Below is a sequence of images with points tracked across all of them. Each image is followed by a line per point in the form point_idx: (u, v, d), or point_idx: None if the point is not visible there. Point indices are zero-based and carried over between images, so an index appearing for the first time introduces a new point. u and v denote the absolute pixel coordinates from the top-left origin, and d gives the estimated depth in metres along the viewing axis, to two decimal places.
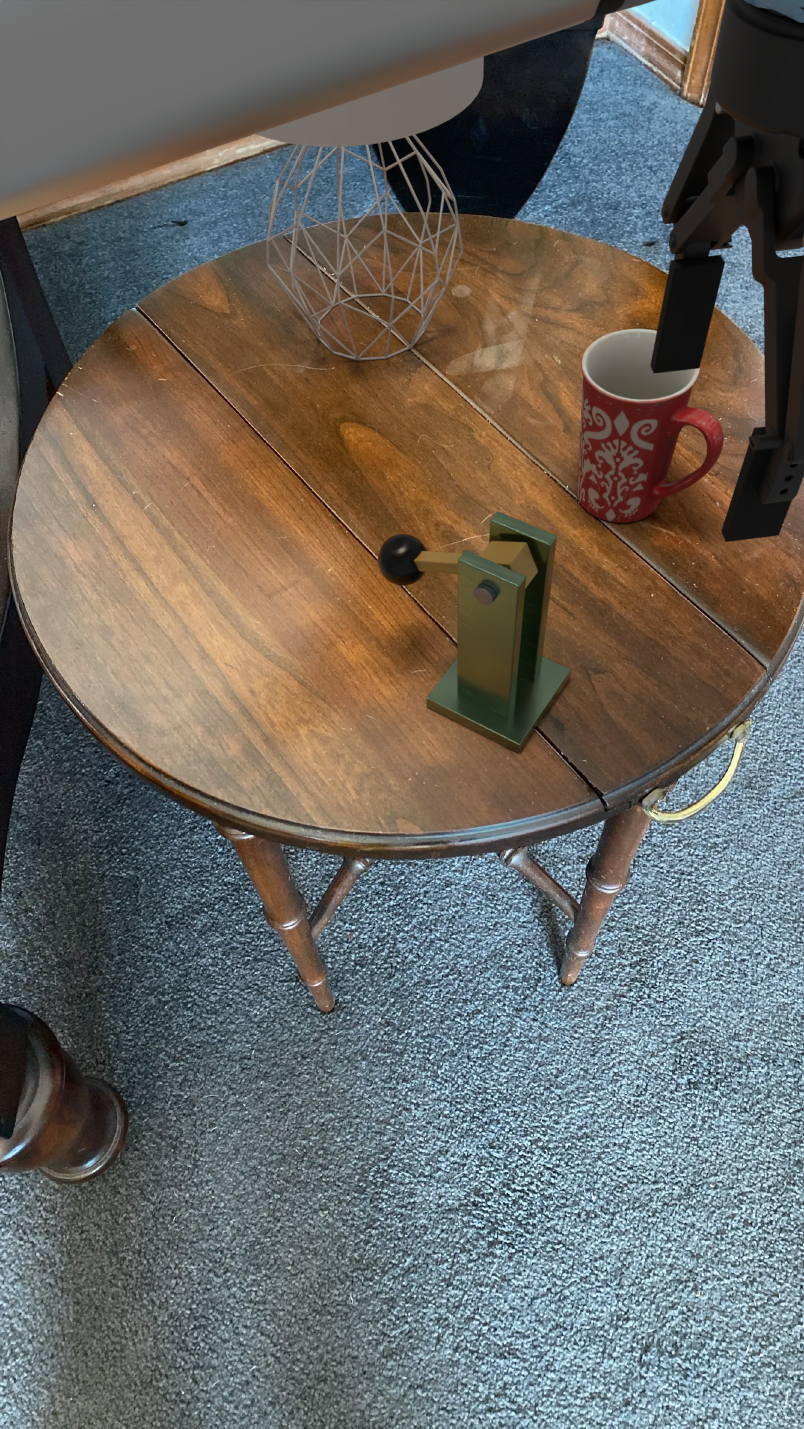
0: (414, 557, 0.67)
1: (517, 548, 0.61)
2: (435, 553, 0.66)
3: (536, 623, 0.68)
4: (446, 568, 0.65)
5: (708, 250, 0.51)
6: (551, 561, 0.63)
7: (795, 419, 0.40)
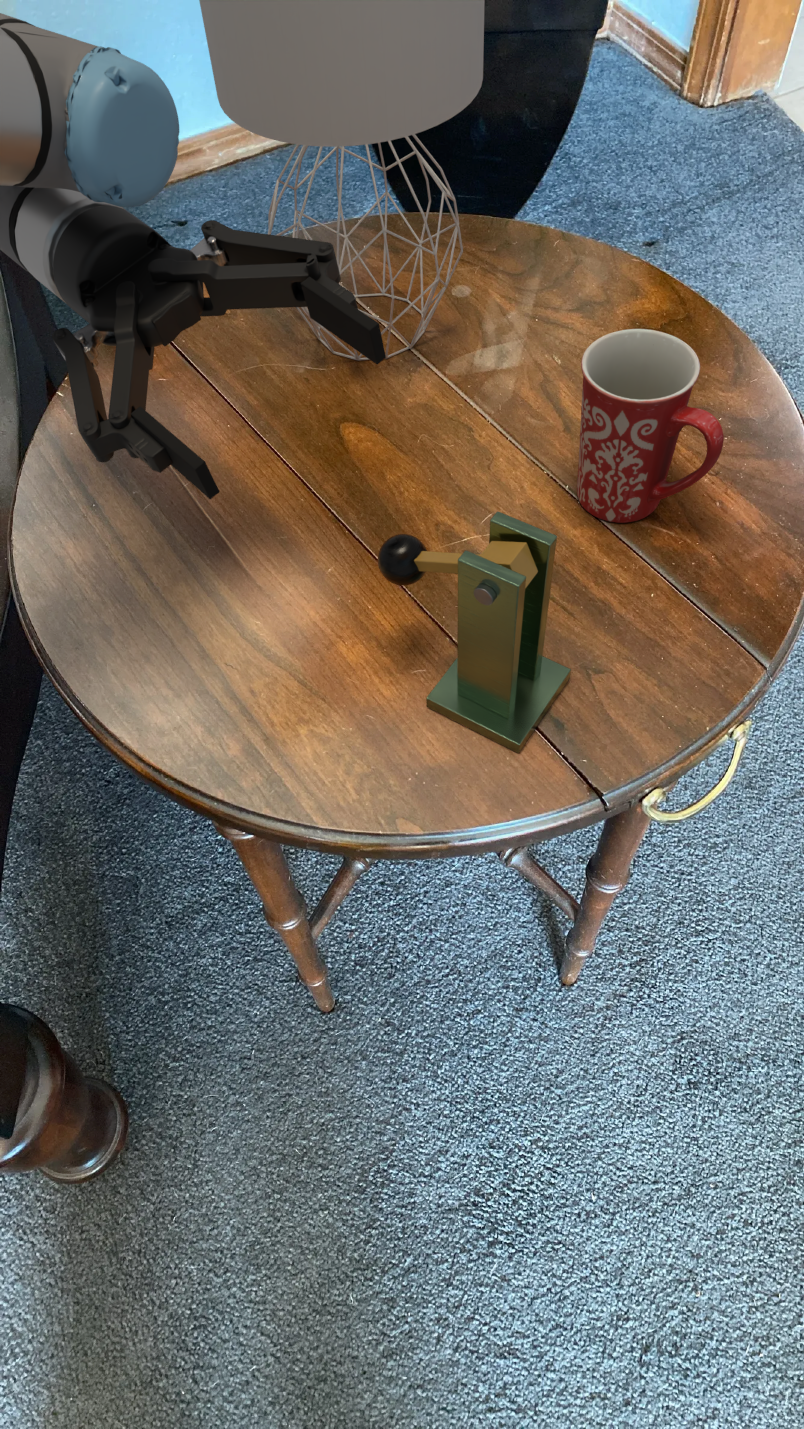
0: (414, 557, 0.67)
1: (517, 548, 0.61)
2: (435, 553, 0.66)
3: (536, 623, 0.68)
4: (446, 568, 0.65)
5: None
6: (551, 561, 0.63)
7: (307, 243, 0.62)
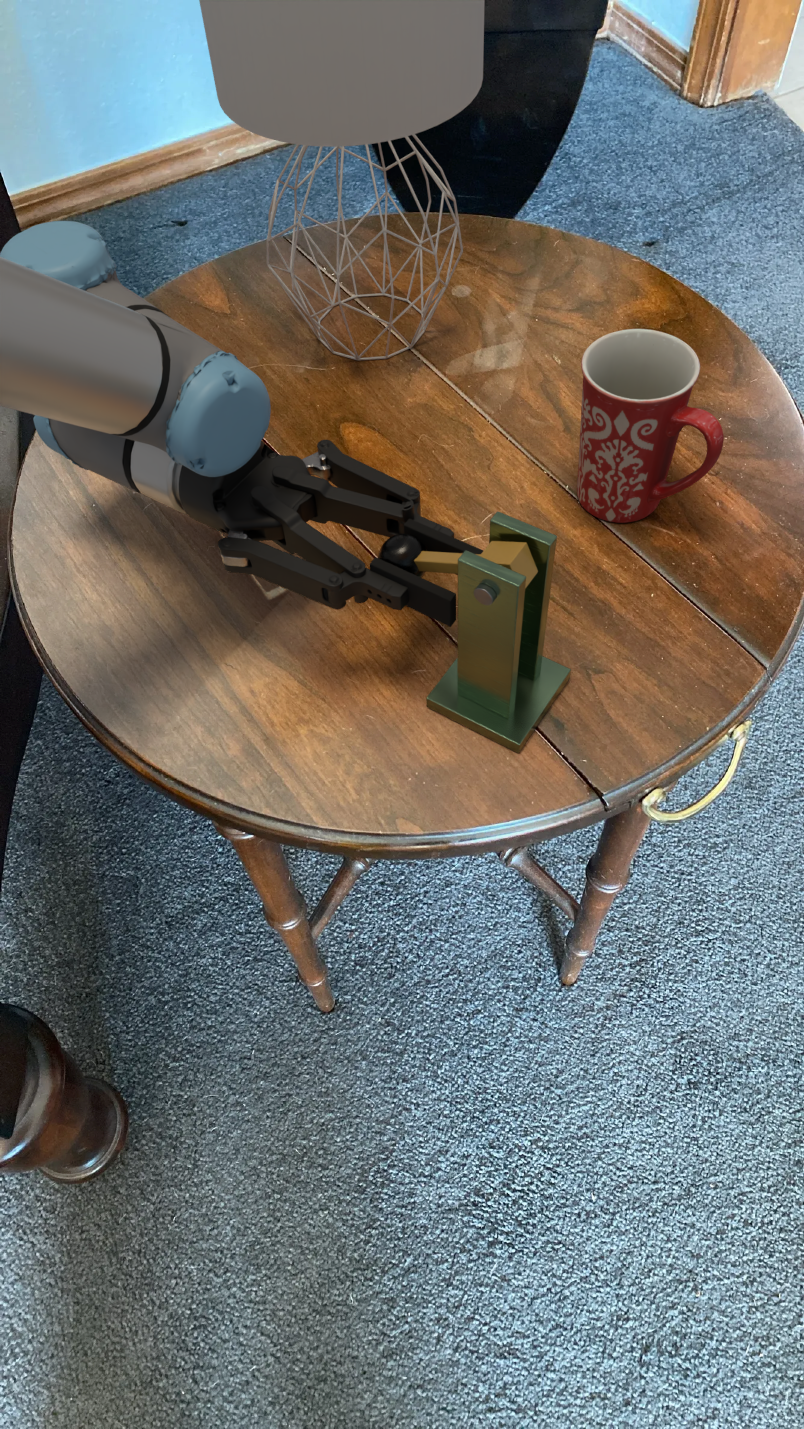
0: (414, 557, 0.67)
1: (517, 548, 0.61)
2: (435, 553, 0.66)
3: (536, 623, 0.68)
4: (446, 568, 0.65)
5: None
6: (551, 561, 0.63)
7: (399, 484, 0.71)
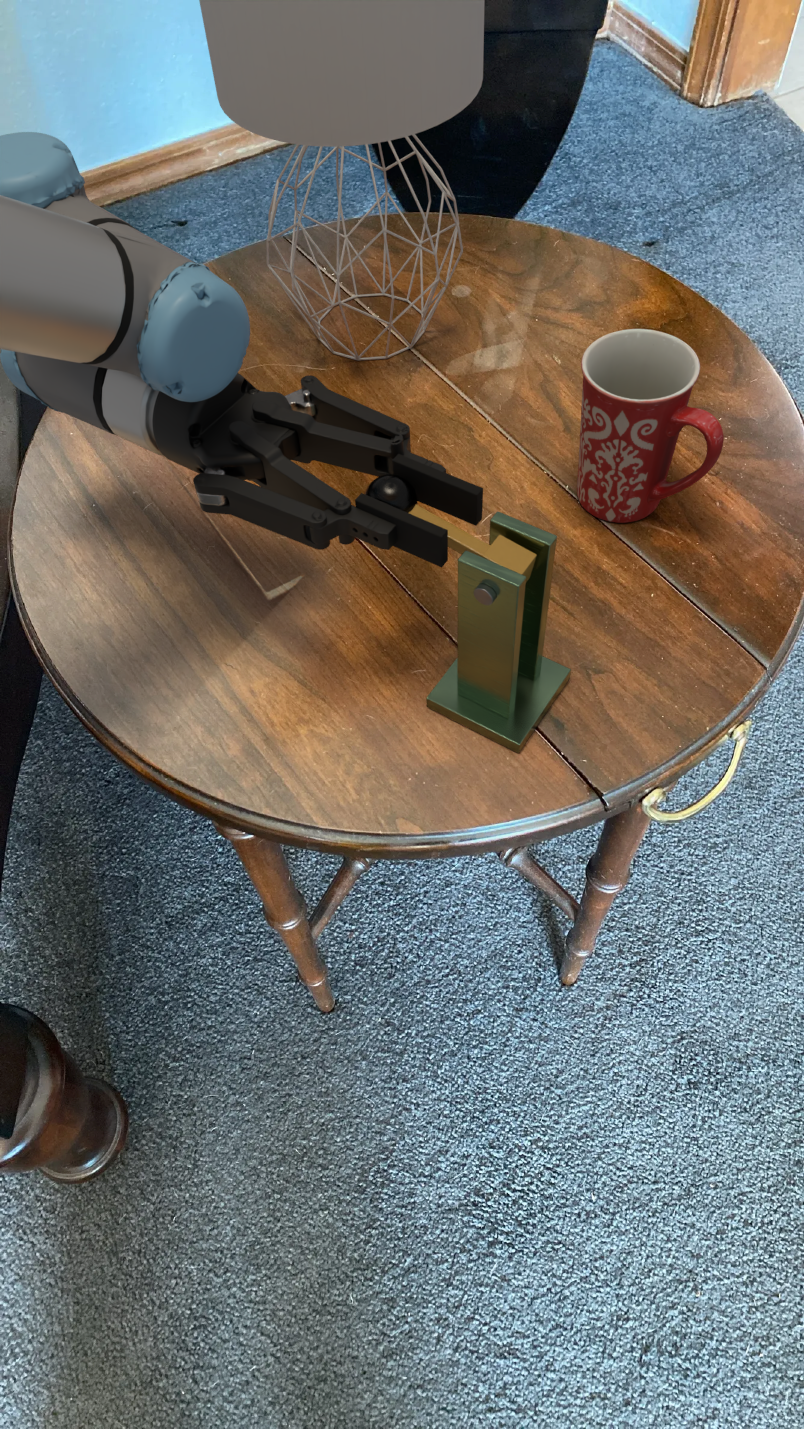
0: (409, 510, 0.63)
1: (527, 558, 0.61)
2: (432, 515, 0.63)
3: (536, 623, 0.68)
4: None
5: None
6: (551, 561, 0.63)
7: (387, 419, 0.67)
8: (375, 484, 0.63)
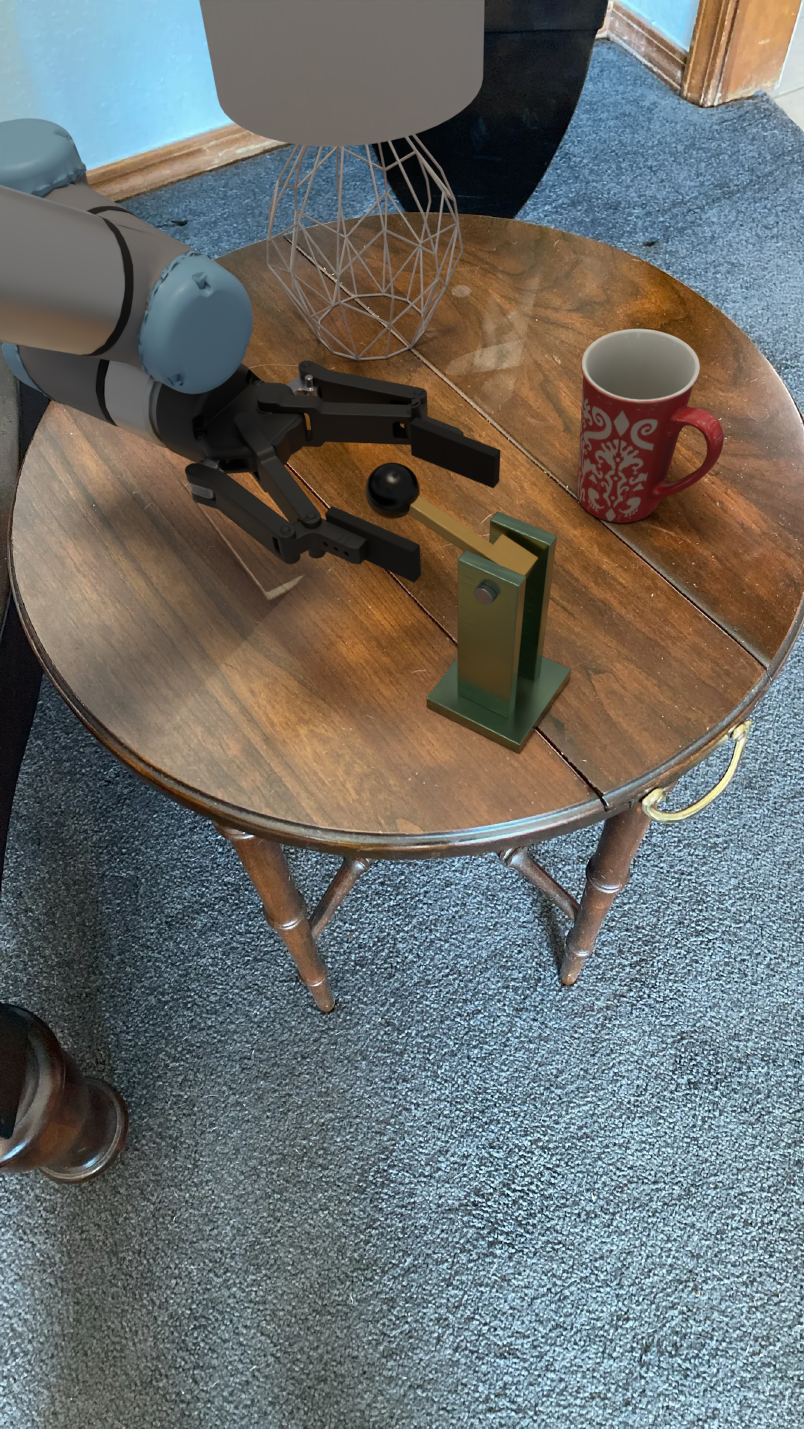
0: (412, 502, 0.63)
1: (529, 561, 0.61)
2: (434, 508, 0.63)
3: (536, 623, 0.68)
4: (442, 532, 0.63)
5: None
6: (551, 561, 0.63)
7: (401, 387, 0.67)
8: (379, 472, 0.62)
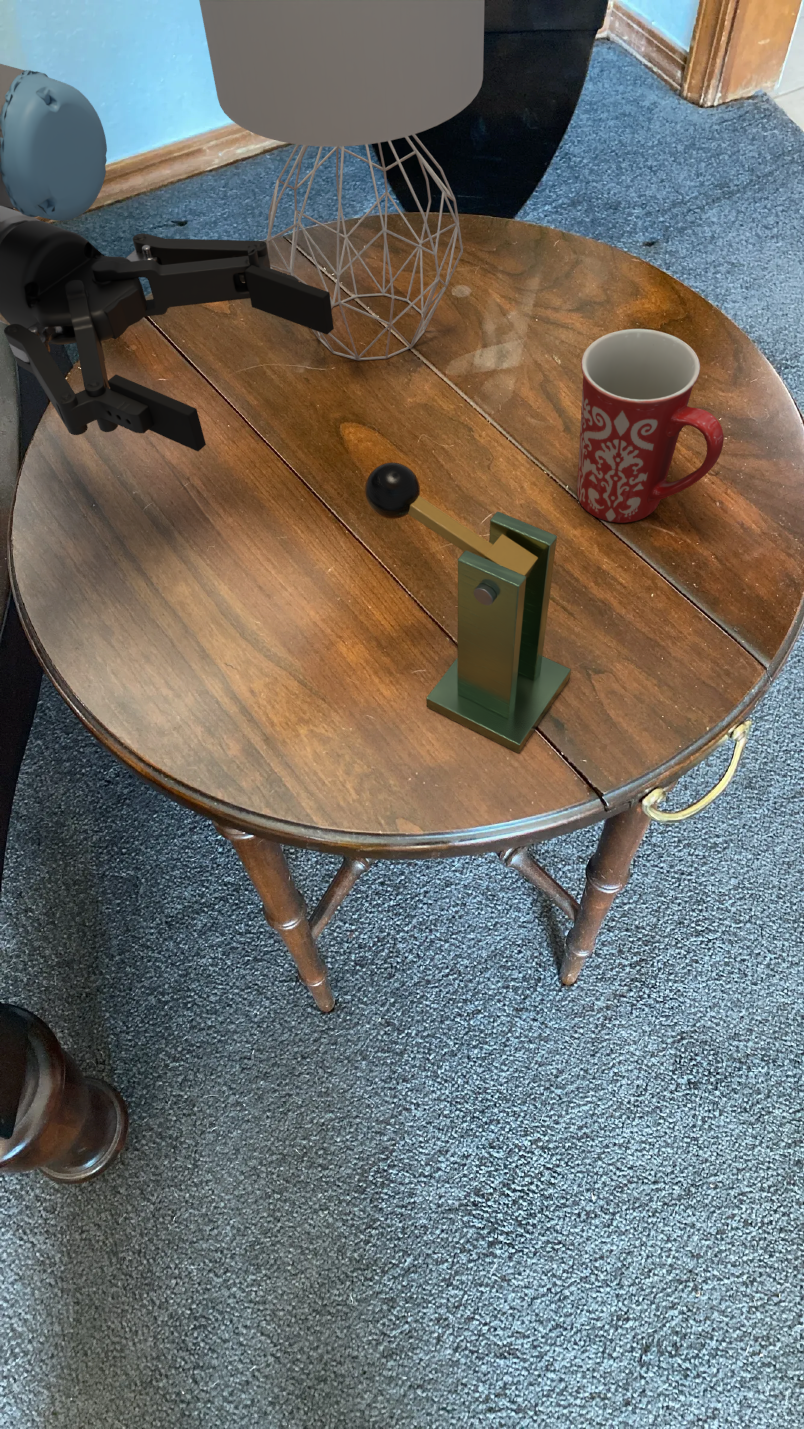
0: (412, 502, 0.63)
1: (529, 561, 0.61)
2: (434, 508, 0.63)
3: (536, 623, 0.68)
4: (442, 532, 0.63)
5: None
6: (551, 561, 0.63)
7: (240, 242, 0.68)
8: (379, 472, 0.62)
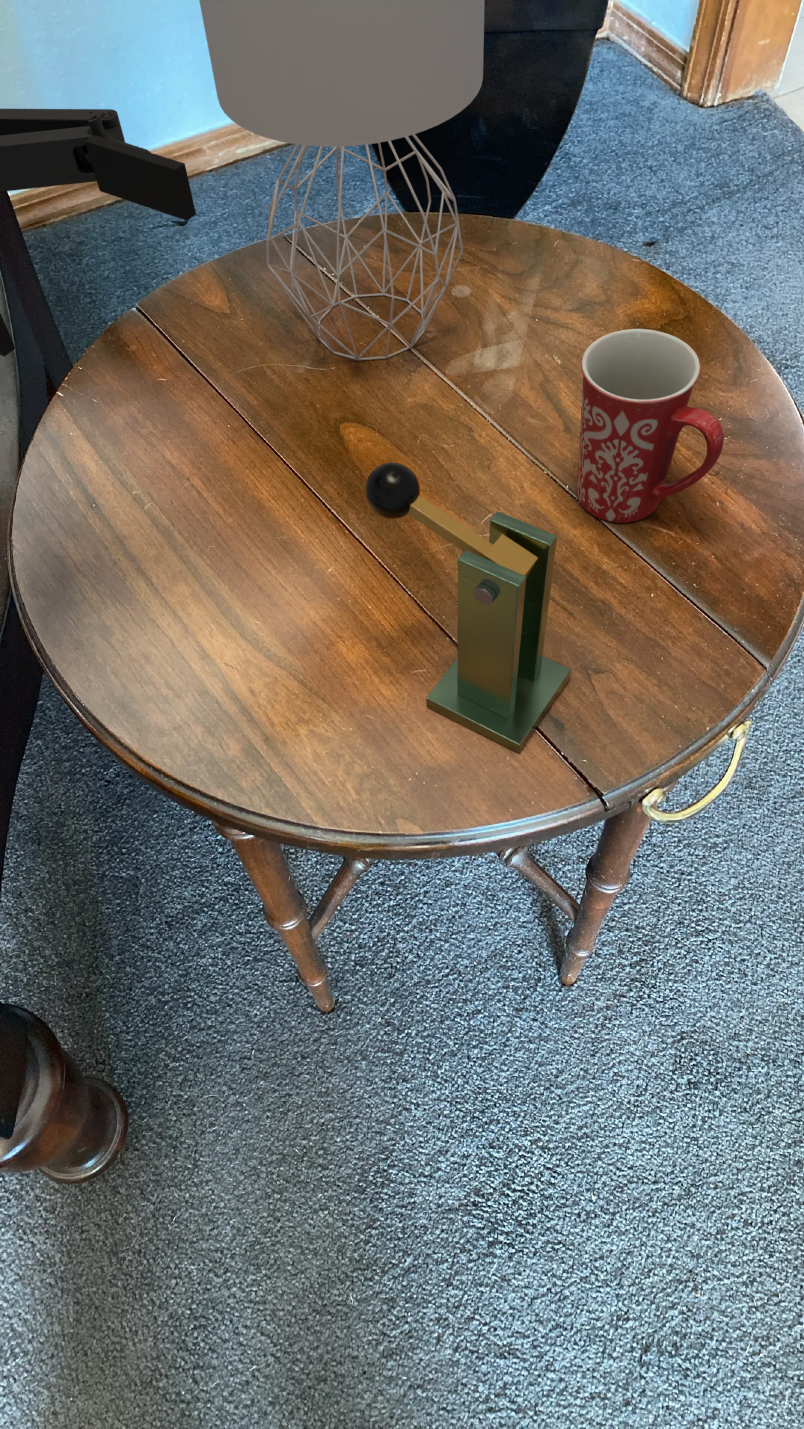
0: (412, 502, 0.63)
1: (529, 561, 0.61)
2: (434, 508, 0.63)
3: (536, 623, 0.68)
4: (442, 532, 0.63)
5: None
6: (551, 561, 0.63)
7: (85, 111, 0.55)
8: (379, 472, 0.62)
